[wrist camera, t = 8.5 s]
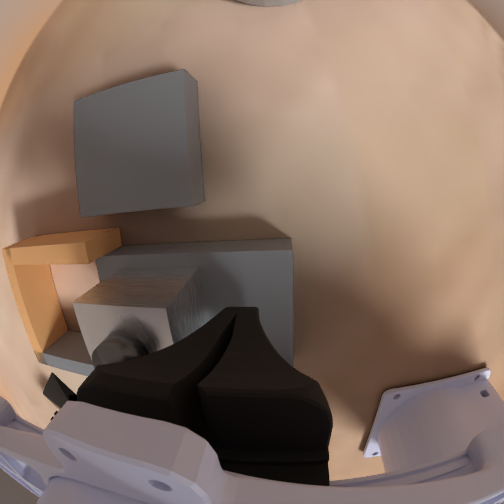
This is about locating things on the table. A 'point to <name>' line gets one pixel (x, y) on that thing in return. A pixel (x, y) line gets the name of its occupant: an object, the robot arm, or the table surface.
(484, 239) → the table surface
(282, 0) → the coffee cup
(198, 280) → the metal block
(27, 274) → the rail
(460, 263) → the table surface
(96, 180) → the gray square block
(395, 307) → the table surface
